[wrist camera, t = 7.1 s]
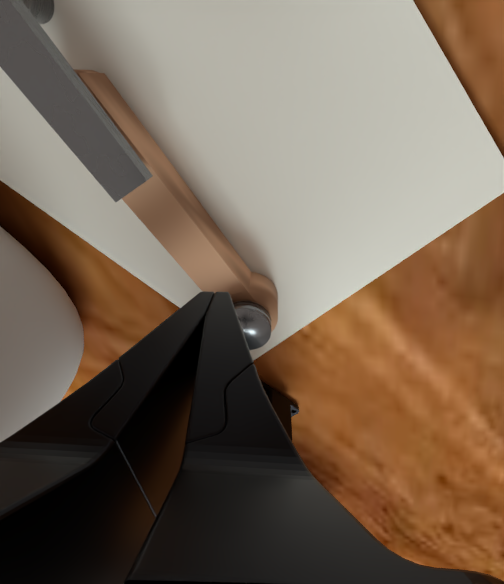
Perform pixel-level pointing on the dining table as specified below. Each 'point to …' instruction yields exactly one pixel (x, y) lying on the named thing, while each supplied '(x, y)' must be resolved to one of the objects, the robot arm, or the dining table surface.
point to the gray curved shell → (33, 338)
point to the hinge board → (268, 138)
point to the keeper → (84, 120)
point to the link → (180, 212)
